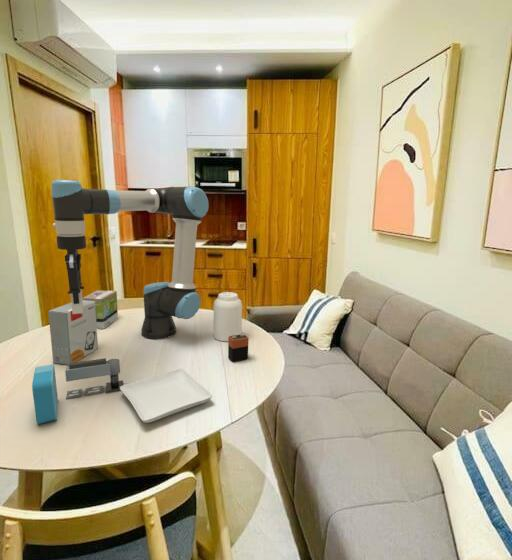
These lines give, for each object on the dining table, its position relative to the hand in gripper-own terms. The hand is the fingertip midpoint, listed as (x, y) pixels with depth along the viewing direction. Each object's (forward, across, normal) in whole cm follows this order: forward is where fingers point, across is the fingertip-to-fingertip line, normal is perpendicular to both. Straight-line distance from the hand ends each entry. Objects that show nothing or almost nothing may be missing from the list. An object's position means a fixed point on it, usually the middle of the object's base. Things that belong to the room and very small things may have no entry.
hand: (78, 311), depth 103 cm
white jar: (+25, -22, +56) cm, 65 cm away
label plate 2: (+24, +6, +3) cm, 25 cm away
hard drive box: (+25, -23, -4) cm, 34 cm away
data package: (+25, +13, -8) cm, 29 cm away
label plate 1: (+24, +6, -2) cm, 25 cm away
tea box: (+25, -57, +4) cm, 62 cm away
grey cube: (+24, +6, +9) cm, 27 cm away
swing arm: (+19, +6, +3) cm, 20 cm away
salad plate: (+25, +18, +23) cm, 39 cm away
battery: (+25, 0, +53) cm, 58 cm away
